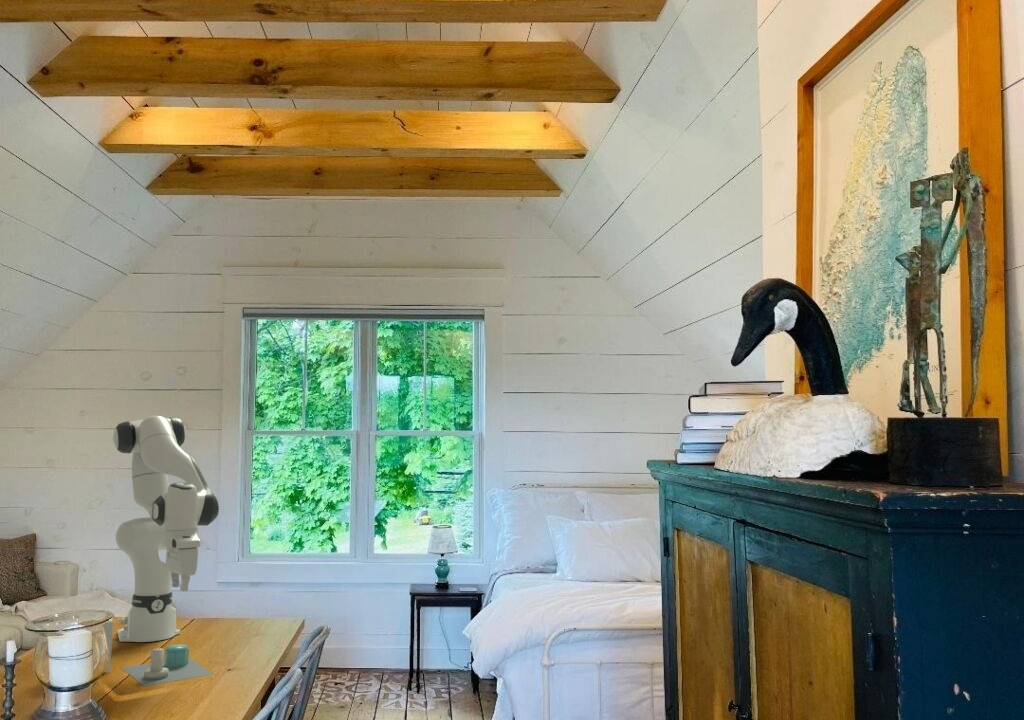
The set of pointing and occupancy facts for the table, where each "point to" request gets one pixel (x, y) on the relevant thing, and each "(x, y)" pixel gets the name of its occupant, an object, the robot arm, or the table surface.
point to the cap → (176, 655)
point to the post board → (171, 672)
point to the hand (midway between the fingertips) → (179, 588)
